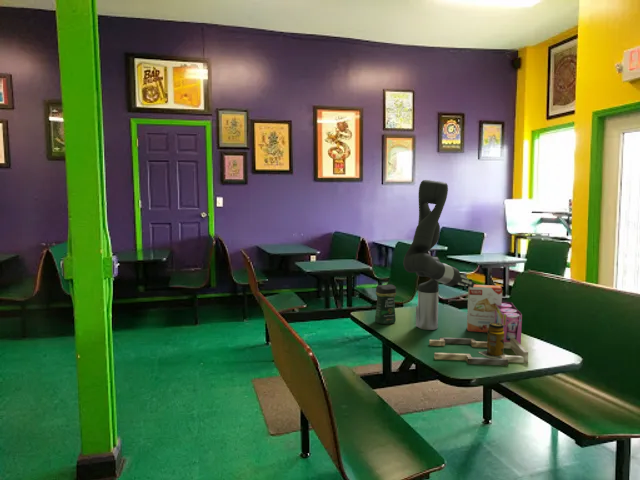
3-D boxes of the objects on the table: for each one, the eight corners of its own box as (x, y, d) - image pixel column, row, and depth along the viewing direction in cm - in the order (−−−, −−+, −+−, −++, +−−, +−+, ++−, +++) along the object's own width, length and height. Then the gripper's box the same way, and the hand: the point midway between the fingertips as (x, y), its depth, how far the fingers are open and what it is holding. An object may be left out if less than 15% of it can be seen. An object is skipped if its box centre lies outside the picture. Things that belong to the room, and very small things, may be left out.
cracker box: (467, 331, 203) (469, 286, 200) (466, 327, 208) (468, 283, 206) (500, 333, 199) (502, 287, 197) (498, 329, 205) (500, 285, 203)
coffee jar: (380, 325, 213) (380, 287, 211) (372, 321, 220) (373, 284, 218) (398, 323, 216) (398, 285, 214) (390, 319, 223) (390, 282, 222)
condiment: (508, 355, 173) (509, 325, 171) (492, 359, 169) (493, 328, 168) (493, 349, 179) (495, 320, 178) (477, 353, 176) (478, 323, 174)
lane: (436, 362, 165) (436, 352, 165) (428, 341, 189) (428, 332, 189) (531, 366, 161) (531, 355, 161) (511, 344, 185) (511, 335, 185)
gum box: (522, 348, 180) (523, 315, 178) (501, 347, 182) (502, 314, 180) (510, 331, 203) (512, 301, 202) (492, 330, 205) (493, 300, 203)
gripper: (461, 268, 171) (488, 280, 180) (436, 261, 182) (462, 273, 191) (455, 287, 170) (482, 297, 180) (430, 279, 181) (457, 289, 191)
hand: (472, 285), depth 185 cm, fingers closed
